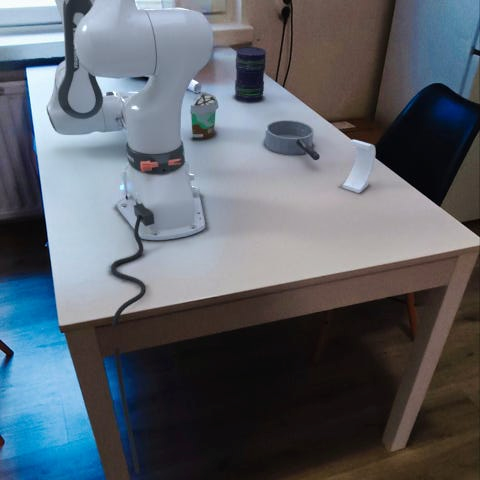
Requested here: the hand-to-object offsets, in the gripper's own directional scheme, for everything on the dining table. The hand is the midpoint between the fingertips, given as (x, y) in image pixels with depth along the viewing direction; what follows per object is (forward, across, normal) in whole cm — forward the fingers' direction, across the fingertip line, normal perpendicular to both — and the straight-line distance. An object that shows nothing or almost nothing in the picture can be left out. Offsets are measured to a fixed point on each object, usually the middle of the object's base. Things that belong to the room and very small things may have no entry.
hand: (164, 109), depth 134 cm
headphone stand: (+38, -40, +8) cm, 56 cm away
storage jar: (+35, +26, +9) cm, 44 cm away
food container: (+12, 0, +9) cm, 15 cm away
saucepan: (+32, -13, +8) cm, 36 cm away
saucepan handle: (+32, -24, +6) cm, 41 cm away
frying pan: (+13, +51, +9) cm, 53 cm away
